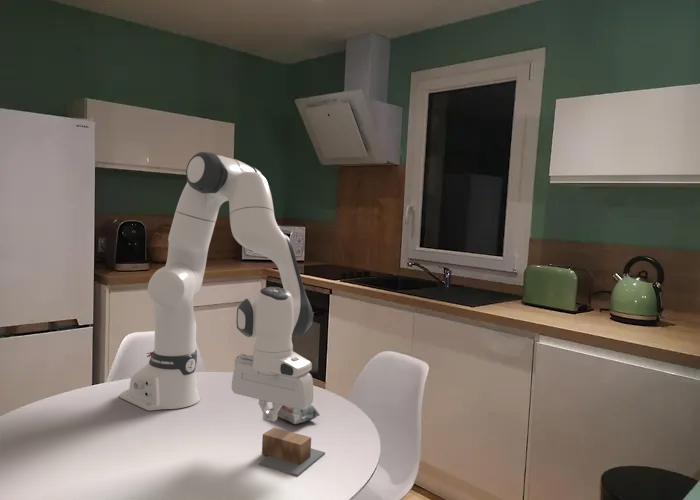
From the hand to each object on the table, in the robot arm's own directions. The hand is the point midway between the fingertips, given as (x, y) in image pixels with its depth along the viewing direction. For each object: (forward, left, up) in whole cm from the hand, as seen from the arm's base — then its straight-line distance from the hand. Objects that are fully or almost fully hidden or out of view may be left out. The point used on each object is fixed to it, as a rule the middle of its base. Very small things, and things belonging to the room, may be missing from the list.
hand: (269, 419), depth 119 cm
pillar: (-1, 0, -5) cm, 5 cm away
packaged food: (-5, +19, -8) cm, 21 cm away
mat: (+6, 0, -8) cm, 10 cm away
